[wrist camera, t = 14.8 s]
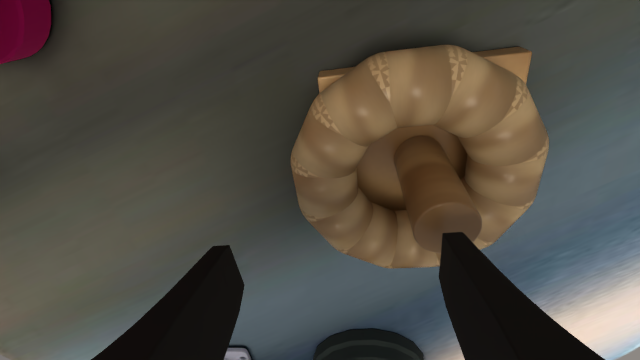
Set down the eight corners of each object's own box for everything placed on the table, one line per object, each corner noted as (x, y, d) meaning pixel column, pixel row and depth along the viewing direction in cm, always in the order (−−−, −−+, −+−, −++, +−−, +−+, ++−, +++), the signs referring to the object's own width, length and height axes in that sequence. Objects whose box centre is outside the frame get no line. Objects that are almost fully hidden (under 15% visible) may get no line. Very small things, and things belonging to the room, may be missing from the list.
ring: (503, 234, 18) (528, 276, 16) (313, 244, 20) (308, 283, 17) (550, 24, 13) (600, 36, 10) (278, 57, 14) (264, 76, 12)
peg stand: (491, 208, 19) (553, 306, 13) (338, 217, 20) (336, 312, 14) (520, 45, 14) (633, 91, 9) (318, 70, 15) (303, 125, 10)
